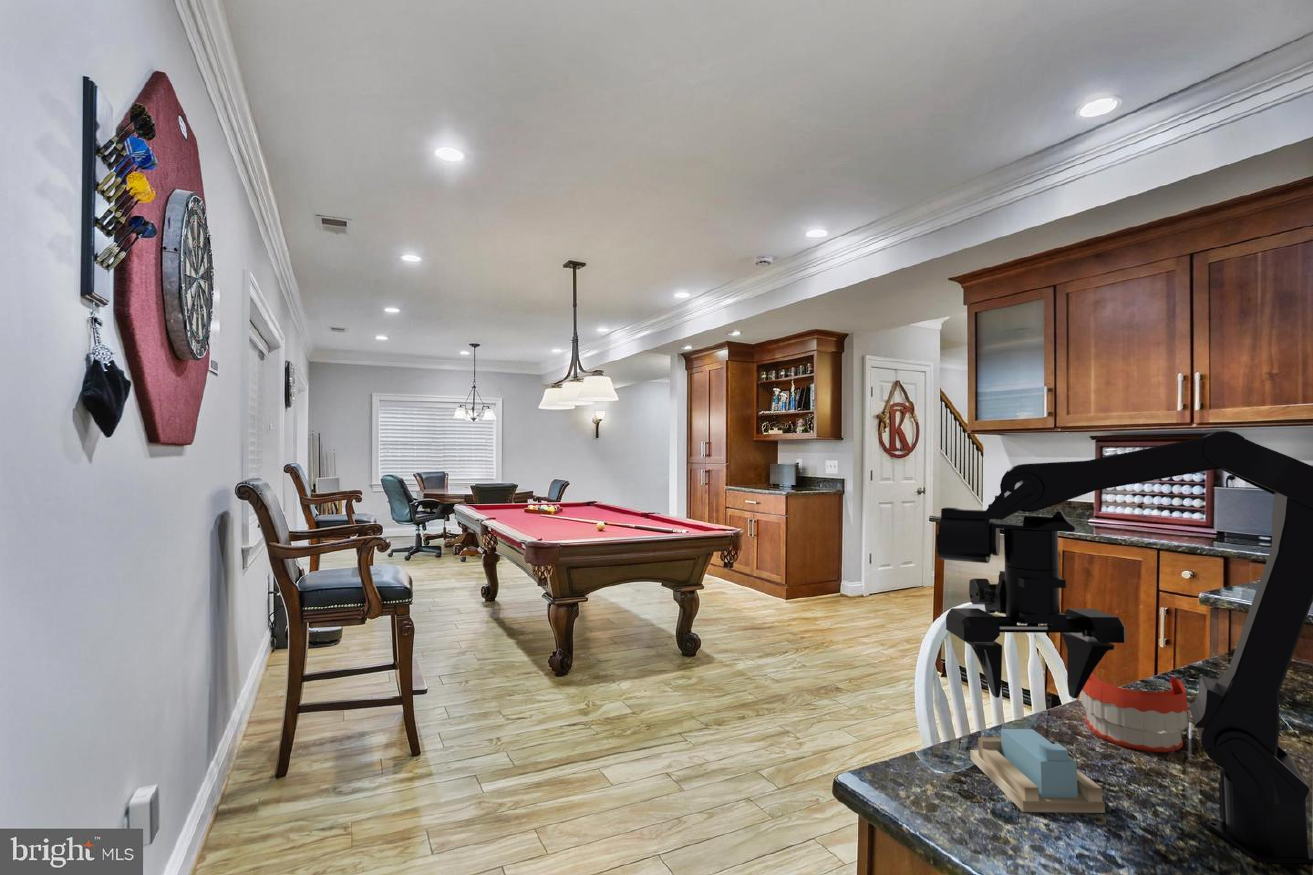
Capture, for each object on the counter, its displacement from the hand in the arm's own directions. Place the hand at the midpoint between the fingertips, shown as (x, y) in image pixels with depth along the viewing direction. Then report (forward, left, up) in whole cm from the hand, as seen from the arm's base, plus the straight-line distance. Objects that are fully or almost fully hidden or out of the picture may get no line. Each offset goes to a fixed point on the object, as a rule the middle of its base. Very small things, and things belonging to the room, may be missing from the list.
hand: (1034, 696), depth 78 cm
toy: (+14, -22, -11) cm, 28 cm away
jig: (+1, 0, -11) cm, 11 cm away
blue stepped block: (0, 0, -10) cm, 10 cm away
